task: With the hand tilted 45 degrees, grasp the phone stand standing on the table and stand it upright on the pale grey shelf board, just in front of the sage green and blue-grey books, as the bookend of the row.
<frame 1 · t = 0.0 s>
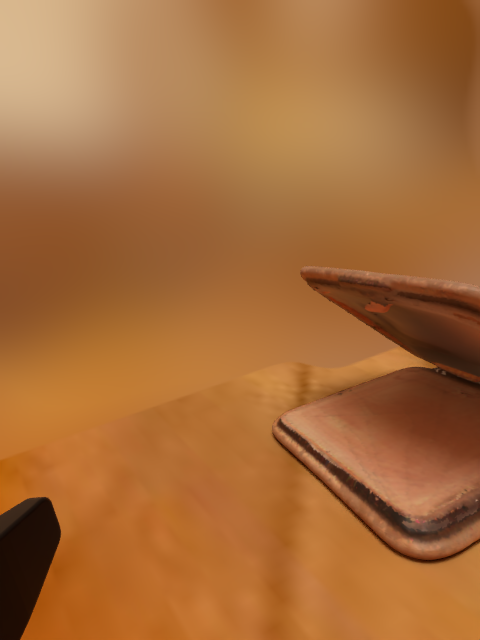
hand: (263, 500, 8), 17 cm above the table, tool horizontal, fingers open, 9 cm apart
case: (421, 441, 37), on the table
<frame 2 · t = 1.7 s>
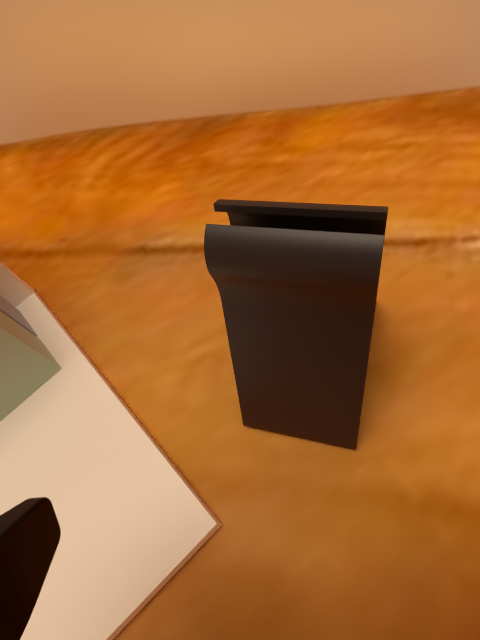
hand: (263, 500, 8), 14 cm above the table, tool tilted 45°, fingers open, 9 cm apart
phone stand: (313, 363, 24), on the table
bookshelf: (38, 505, 23), on the table
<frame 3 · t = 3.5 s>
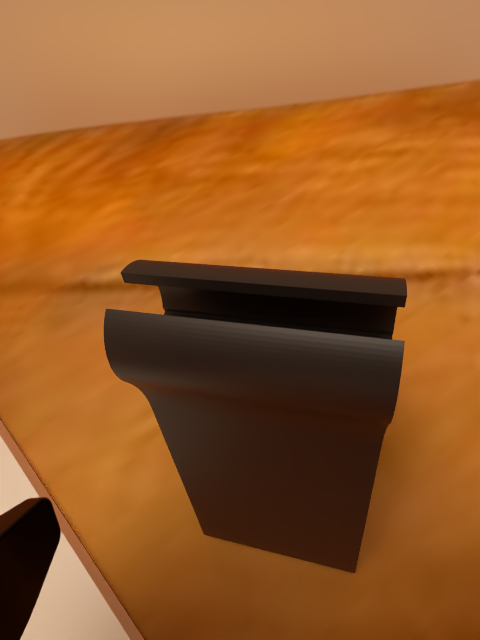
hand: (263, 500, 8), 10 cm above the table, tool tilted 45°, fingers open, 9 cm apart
phone stand: (295, 440, 19), on the table
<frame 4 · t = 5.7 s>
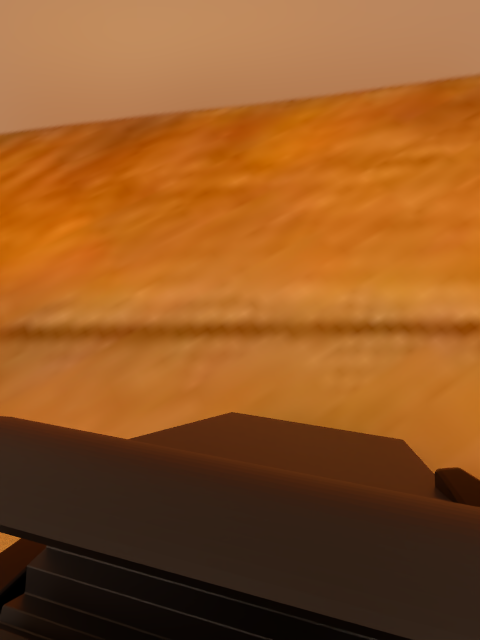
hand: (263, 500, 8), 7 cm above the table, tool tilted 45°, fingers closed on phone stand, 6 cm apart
phone stand: (295, 568, 13), on the table, touching gripper
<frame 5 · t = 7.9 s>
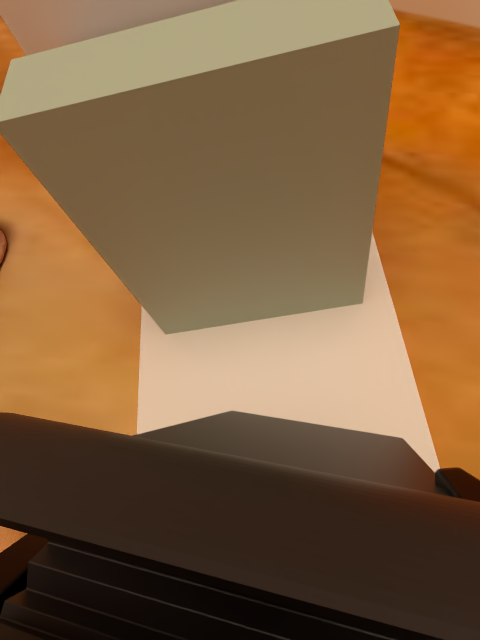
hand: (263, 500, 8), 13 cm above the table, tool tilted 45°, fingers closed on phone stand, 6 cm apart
phone stand: (295, 566, 13), point 6 cm above the table, touching gripper
bookshelf: (274, 423, 21), on the table
when the fingers open (9 cm above the table, at t = 10.6 s): phone stand drops 1 cm, resting on bookshelf.
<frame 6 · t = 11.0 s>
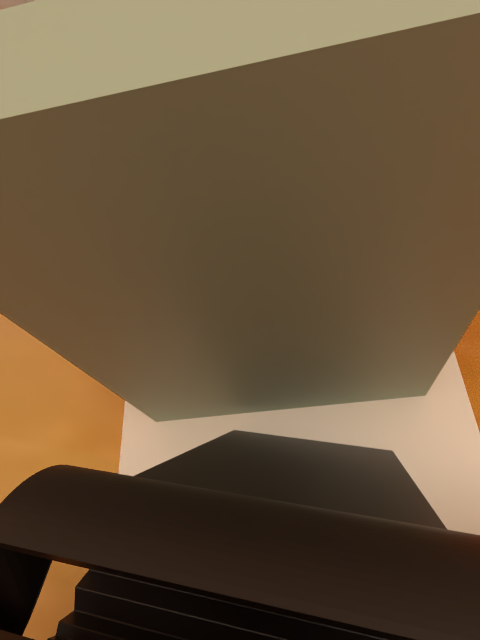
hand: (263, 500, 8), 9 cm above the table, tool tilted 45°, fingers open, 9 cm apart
phone stand: (298, 574, 15), point 1 cm above the table, touching bookshelf
bookshelf: (301, 564, 15), on the table
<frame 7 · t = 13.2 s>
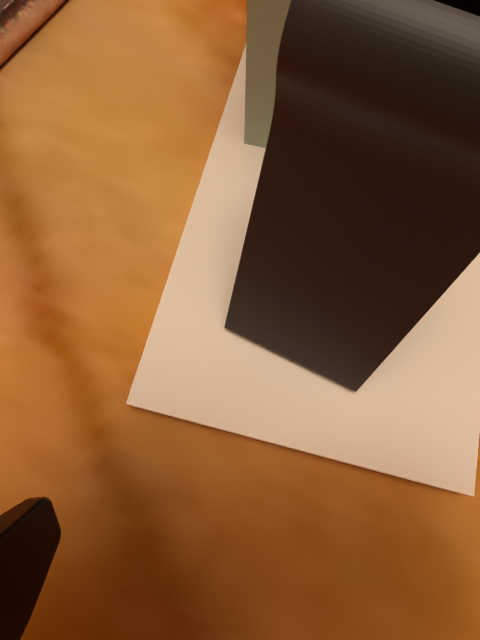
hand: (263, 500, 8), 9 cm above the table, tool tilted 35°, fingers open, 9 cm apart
phone stand: (328, 274, 19), point 1 cm above the table, touching bookshelf
bookshelf: (328, 276, 20), on the table
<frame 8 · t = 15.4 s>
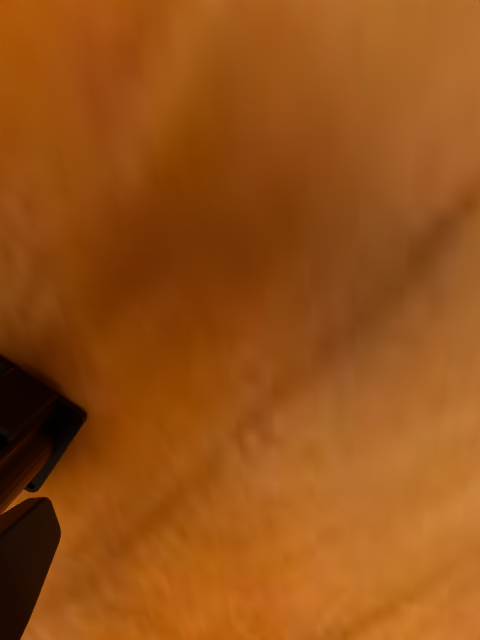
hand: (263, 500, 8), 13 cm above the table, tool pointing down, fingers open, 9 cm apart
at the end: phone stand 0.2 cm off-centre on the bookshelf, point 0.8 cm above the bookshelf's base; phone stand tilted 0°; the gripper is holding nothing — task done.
